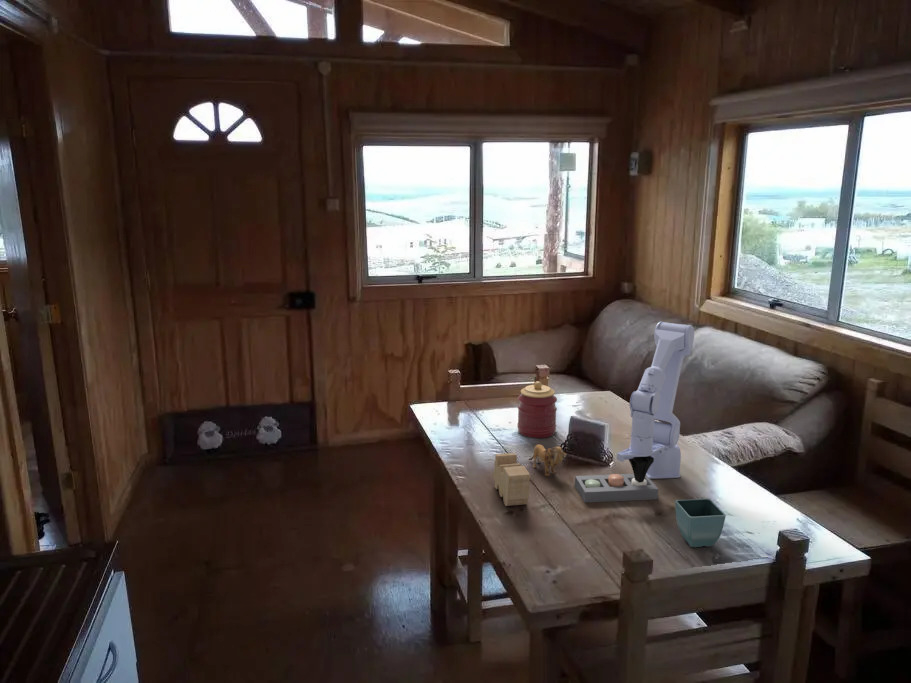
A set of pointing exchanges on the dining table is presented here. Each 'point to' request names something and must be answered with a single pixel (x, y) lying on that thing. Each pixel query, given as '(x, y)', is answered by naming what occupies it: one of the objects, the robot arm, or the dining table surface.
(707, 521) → the flower pot
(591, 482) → the sage button
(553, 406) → the canister
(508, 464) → the toy train
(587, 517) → the dining table surface
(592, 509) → the dining table surface
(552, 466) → the lion figurine
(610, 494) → the button panel
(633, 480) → the cream button
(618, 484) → the terracotta button
